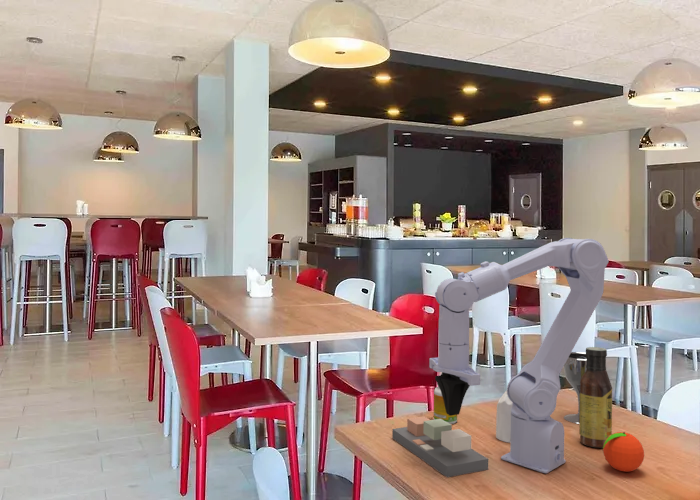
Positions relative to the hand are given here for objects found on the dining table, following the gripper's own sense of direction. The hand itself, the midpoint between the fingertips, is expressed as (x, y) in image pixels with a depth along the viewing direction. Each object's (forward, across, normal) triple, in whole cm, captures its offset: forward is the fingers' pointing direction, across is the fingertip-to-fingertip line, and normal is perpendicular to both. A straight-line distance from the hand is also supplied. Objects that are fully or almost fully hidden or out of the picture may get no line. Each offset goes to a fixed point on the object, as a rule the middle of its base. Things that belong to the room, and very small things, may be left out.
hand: (452, 413), depth 112 cm
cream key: (+6, +1, 0) cm, 6 cm away
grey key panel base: (+9, -5, 0) cm, 11 cm away
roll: (+10, -7, +19) cm, 22 cm away
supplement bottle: (+10, -21, +12) cm, 26 cm away
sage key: (+6, -5, 0) cm, 8 cm away
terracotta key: (+7, -12, 0) cm, 14 cm away
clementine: (+10, +14, +27) cm, 32 cm away
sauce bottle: (+10, +2, +33) cm, 35 cm away
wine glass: (+10, -11, +42) cm, 44 cm away
